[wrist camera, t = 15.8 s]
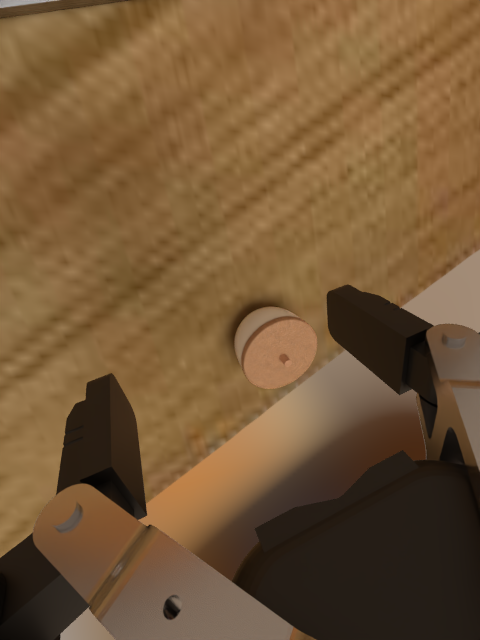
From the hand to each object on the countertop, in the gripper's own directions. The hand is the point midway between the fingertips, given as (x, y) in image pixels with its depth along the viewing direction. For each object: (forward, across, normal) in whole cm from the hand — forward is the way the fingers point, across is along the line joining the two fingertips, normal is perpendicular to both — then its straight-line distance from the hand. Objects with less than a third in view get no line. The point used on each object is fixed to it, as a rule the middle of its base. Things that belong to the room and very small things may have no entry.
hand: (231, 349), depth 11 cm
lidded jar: (+28, -10, +20) cm, 36 cm away
